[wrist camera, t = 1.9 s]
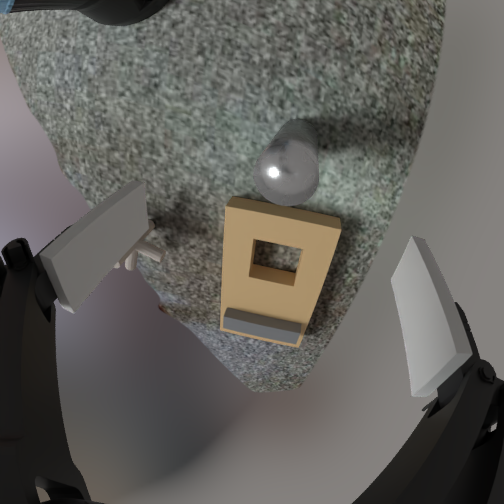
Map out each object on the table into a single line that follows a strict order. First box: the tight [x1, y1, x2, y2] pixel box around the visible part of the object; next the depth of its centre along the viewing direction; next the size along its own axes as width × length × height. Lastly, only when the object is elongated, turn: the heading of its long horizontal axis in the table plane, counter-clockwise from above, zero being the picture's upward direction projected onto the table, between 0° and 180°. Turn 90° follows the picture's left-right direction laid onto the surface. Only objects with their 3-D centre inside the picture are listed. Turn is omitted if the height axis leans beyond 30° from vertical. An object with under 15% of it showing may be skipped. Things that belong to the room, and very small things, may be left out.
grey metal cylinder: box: [253, 119, 319, 206], centre depth 23 cm, size 4×4×14 cm
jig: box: [220, 196, 341, 347], centre depth 39 cm, size 24×14×5 cm, turn 174°
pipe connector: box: [114, 219, 166, 270], centre depth 37 cm, size 10×10×10 cm
